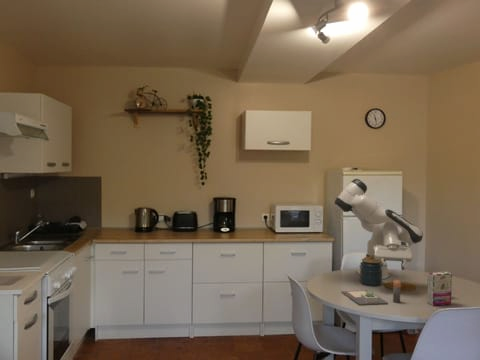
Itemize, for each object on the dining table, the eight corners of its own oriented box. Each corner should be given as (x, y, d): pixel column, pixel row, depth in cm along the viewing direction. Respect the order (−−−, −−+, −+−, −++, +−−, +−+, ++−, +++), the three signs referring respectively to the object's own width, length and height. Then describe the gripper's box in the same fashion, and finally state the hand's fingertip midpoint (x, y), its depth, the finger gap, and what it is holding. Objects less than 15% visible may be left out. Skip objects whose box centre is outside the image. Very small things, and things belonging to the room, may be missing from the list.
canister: (377, 287, 253) (378, 257, 253) (356, 283, 261) (357, 254, 261) (385, 283, 264) (385, 254, 263) (364, 279, 272) (365, 251, 271)
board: (341, 292, 242) (341, 286, 242) (367, 291, 245) (368, 286, 245) (359, 305, 220) (359, 299, 220) (388, 304, 223) (388, 297, 223)
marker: (391, 301, 229) (392, 280, 229) (397, 300, 230) (398, 280, 229) (395, 303, 226) (395, 282, 225) (401, 302, 226) (402, 281, 226)
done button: (364, 296, 228) (365, 290, 228) (371, 296, 228) (371, 290, 228) (368, 298, 224) (368, 292, 224) (374, 298, 225) (374, 292, 225)
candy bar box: (444, 301, 229) (445, 271, 229) (451, 304, 224) (452, 273, 224) (426, 303, 226) (427, 272, 226) (433, 306, 222) (434, 274, 221)
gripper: (373, 241, 248) (374, 262, 239) (411, 243, 244) (414, 264, 234) (372, 247, 252) (373, 268, 243) (409, 249, 248) (412, 270, 239)
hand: (393, 266), depth 239 cm, fingers open, 8 cm apart
